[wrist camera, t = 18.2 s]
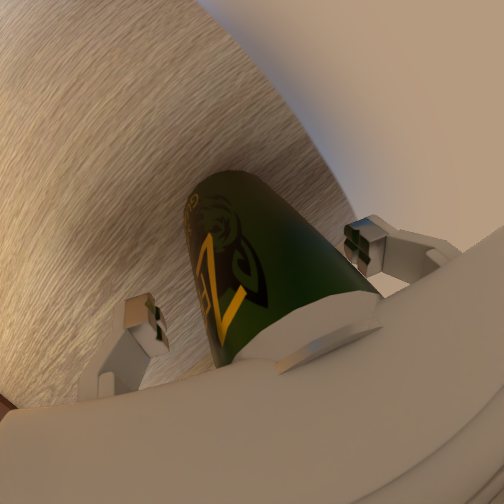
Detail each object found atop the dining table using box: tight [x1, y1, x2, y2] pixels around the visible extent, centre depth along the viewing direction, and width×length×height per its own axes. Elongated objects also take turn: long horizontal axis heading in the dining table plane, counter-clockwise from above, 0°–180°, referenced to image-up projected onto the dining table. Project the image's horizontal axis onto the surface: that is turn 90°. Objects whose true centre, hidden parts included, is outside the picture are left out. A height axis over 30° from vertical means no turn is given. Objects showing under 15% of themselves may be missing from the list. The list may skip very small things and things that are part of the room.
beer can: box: [184, 170, 385, 375], centre depth 11 cm, size 5×5×12 cm
